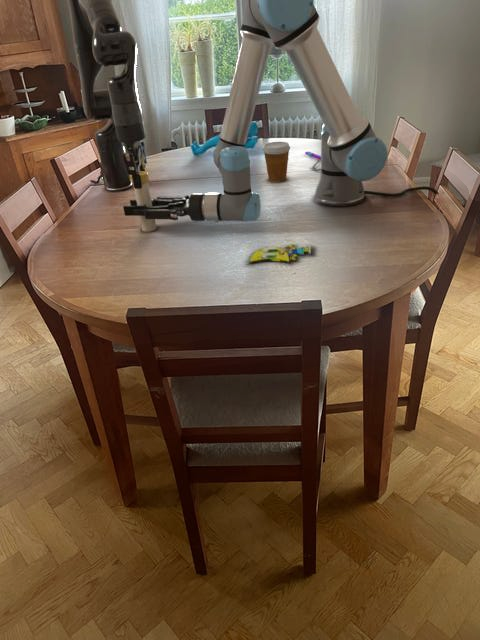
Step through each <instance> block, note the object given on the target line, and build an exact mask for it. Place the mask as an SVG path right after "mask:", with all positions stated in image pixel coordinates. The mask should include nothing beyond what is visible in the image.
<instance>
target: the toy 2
mask: <svg viewBox="0 0 480 640" xmlns="http://www.w3.org/2000/svg"><path fill="white" fill-rule="evenodd" d="M287 249H288V250H287ZM305 254H308V255H309V256H311V255H312V244H309V245H308V247H305V246H304V245H303V246H302V247H299V248H297V247H295V245H294V244H290V245H288V244H287V245H286V246H285V248H283V247H278V246H265V247H262V248H260V249H257V250H255V252H254V253H253V254H252V255H251V257H250V259H249V262H248V264H249V265H251V264H254V263H260V262H269V261H270V262H282V263H288V264H291V261H292V262H296V261H297V258H298V256H304V255H305Z"/></svg>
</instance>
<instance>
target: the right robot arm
mask: <svg viewBox="0 0 480 640" xmlns="http://www.w3.org/2000/svg"><path fill="white" fill-rule="evenodd" d="M314 2H315V0H246V2H245V7H244V11H243V17H242V22H241V27H240V34H241V36H242V40H241V45H240V49H239V53H238V57H237V61H236V66H235V70H234V75H233V78H232V83H231V87H230V91H229V95H228V99H227V104H226V107H225V112H224V118H223V122H222V127H221V129H220V133H221V134H220V133H219V134H220V139H219V142H218V145H217V146H216V147H214V149H213V153H212V157H213V158H212V159H213V162H214V165H215V167H216V168H217V169H218V171H219V173H220V174H221V177H222V179H221V180H222V187H223V192H207V193H205V194H204V193H191V194H190V195H188V194H187V195H180V196H179V195H178V196H177V195H175V196H174V195H173V196H172V195H171V196H156V198H153V199H152V198H151V201H152V206H153V207H146V204H145V205H143V206H137V201H136V199H129V204H130V205H123V206H122V208H123V212H124V216H127V217H129V216H130V217H131V216H132V217H137V216H139V217H140V216H145V219H155V220H172V221H178V220H179V218H180V217H185V216H189V218H190V220H191V221H192V222H205V221H207V222H215V223H218V222H252V221H253V222H254V221H257V220H259V217H260V215H261V210H262V209H261V207H262V204H261V196H260V194H259V193H257V192H253V191H252V185H251V165H250V163H251V160H250V155H249V149H247V148H245V143H246V140H247V138H248V137H247V136H248V132H249V128H250V124H251V122H253V121H252V120H253V117H254V113H255V109H256V106H257V102H258V97H259V94H260V90H261V86H262V82H263V78H264V75H265V71H266V67H267V65H268V64H267V63H268V59H269V57H270V53H271V48H272V47H273V46H274V47H275V49H277V50H281V51H284V52H285V53H286V55H287V57H288V59H289V61H290V63H291V64H292V66H293V68H294V71H295V72H296V74H297V76H298V78H299V79H300V82H301V83H302V85H303V87H304V89H305V91H306V93H307V95H308V96H309V99H310V101H311V102H312V104H313V106H314V108H315V110H316V112H317V113H318V115H319V117H320V119H321V121H322V123H323V125H322V126H321V134H320V156H321V160H320V169H321V170H320V176H319V179H318V182H317V185H316V188H315V190H314V201H315V202H317V204H320V205H324V206H328V207H349V206H354V205H356V204H360V203H361V202H363V201H364V199H365V195H373V196H382V197H389V198H390V197H391V198H394V197H395V198H396V197H402V196H403V195H405V194H406V193H408V192H414V191H420V190H421V191H422V190H423V191H424V190H426V191H430V192H432V193H433V194H434V195H439V192H438V190H437V189H435V188H434V187H431V186H426V185H425V186H424V185H423V186H415V187H409V188H406V189H405V188H404V190H402V191H401V192H397V193H391V192H390V193H389V192H379V191H372V190H365V189H364V185H363V182H366V181H370V180H372V179H374V178H375V177H377V176H379V174H380V173H381V172H382V171H383V169H384V168H385V165H386V163H387V161H388V153H389V151H388V147H387V145H386V143H385V142H384V141H383V140H382V139H381V138H380V137H377V135H376V133H375V131H374V130H373V127H372V125H371V123H370V121H369V119H368V118H367V117H364V116H360V115H359V113H358V110H357V109H356V106H355V104H354V102H353V100H352V98H351V96H350V94H349V92H348V89H347V88H346V86H345V83H344V81H343V79H342V77H341V75H340V72H339V71H338V69H337V66H336V65H335V63H334V62H335V61H334V60H333V58H332V56H331V54H330V52H329V50H328V48H327V45H326V44H325V42H324V39H323V37H322V35H321V34H320V31H319V29H318V26H319V21H320V15H319V12H318V10H317V8H316V6H315V3H314Z"/></svg>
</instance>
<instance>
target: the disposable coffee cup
mask: <svg viewBox="0 0 480 640" xmlns="http://www.w3.org/2000/svg"><path fill="white" fill-rule="evenodd" d="M290 149H291V146H290V144H289V142H286V141H272V142H266V143H265V144H263V148H262V151H263V153H264V159H265V165H266V171H267V178H268V182H272V183H273V182H274V183H278V182H279V183H280V182H283V181H286V180H287V174H288V165H289V155H290V154H289V153H290Z"/></svg>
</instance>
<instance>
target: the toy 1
mask: <svg viewBox="0 0 480 640" xmlns="http://www.w3.org/2000/svg"><path fill="white" fill-rule="evenodd" d="M258 130H259V128H258V124H257V122H255V121H251V124H250V128H249V132H248V136H247V140H246V143H245V148H247V150H249V149H252V150H253V149H254V148H255V147H256V145H257V143H258V142H259V140H260V137H259V135H257V134H258V132H259V131H258ZM220 134H221V132H220V133H218V135H216V136H214V137H211V138H209V139H208V140H207V141H205V142H204V143H203V144H202V145H200V144H199V143H198V141H193V143H191V144H190V149H191V152H192V155H193V156H194V157H196V156H199V155H203V154H205V153H206V152H207V151H208V150H211V149H212V148H216V146H217V145H218V142H219V139H220Z"/></svg>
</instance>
